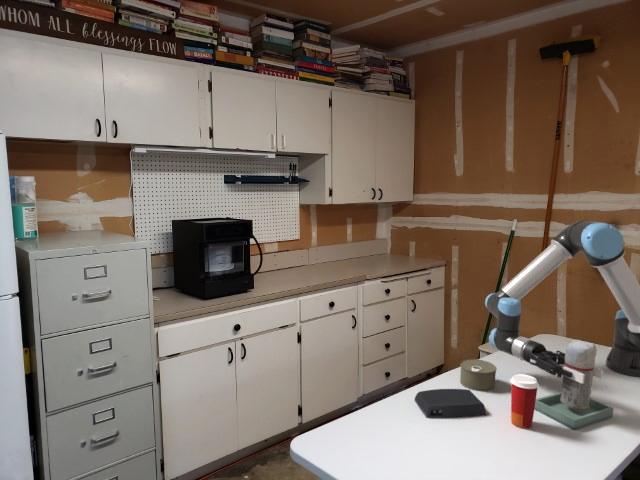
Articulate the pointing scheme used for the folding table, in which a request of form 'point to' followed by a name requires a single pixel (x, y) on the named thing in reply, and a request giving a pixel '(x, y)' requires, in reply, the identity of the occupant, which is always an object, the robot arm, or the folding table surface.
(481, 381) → the can
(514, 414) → the paper cup
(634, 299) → the robot arm
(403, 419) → the folding table surface
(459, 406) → the external hard drive
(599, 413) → the tray
